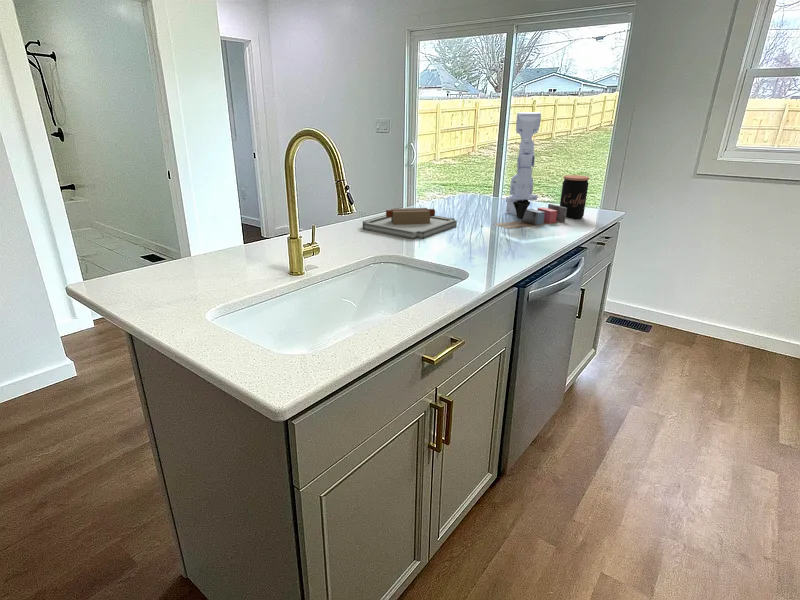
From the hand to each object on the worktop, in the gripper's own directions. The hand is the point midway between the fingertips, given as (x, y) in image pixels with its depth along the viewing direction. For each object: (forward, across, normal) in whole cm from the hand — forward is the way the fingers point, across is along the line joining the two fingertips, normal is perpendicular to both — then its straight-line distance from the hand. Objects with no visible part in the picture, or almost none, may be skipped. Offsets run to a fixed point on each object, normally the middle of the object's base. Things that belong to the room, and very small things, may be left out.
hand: (519, 218), depth 192 cm
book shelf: (+3, +6, 0) cm, 6 cm away
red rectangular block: (+2, +14, 0) cm, 14 cm away
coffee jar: (+4, +32, +4) cm, 33 cm away
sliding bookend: (+2, +5, 0) cm, 5 cm away
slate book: (+2, +8, 0) cm, 8 cm away
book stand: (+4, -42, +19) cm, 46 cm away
